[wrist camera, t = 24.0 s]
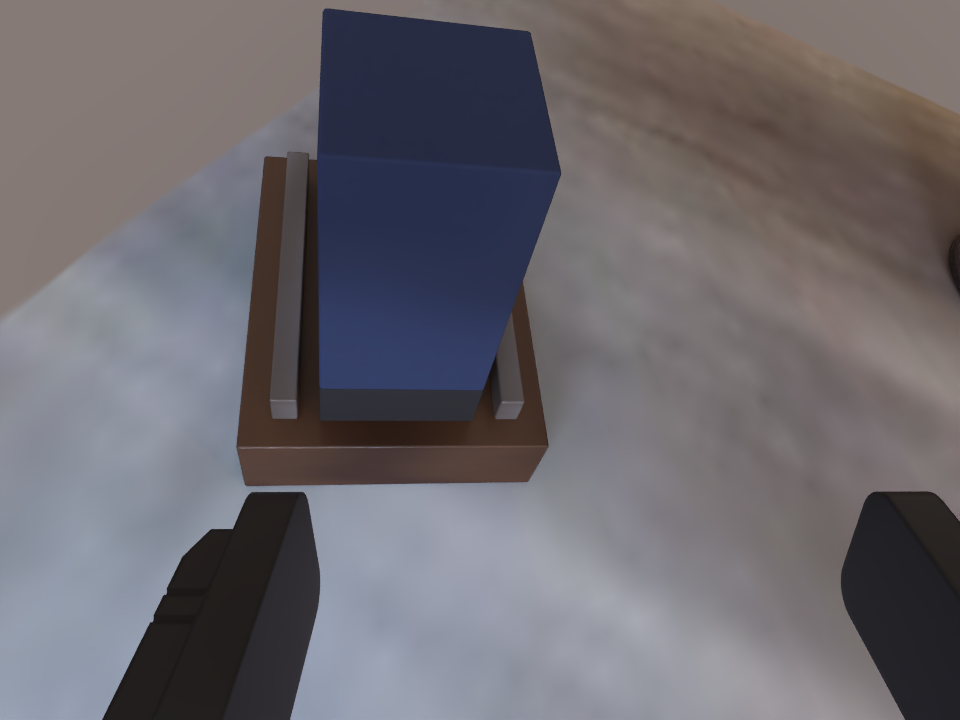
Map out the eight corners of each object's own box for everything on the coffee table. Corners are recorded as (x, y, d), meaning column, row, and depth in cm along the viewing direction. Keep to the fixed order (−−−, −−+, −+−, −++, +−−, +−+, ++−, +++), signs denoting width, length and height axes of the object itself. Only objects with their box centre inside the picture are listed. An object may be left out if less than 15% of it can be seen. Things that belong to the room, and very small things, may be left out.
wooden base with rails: (492, 221, 33) (512, 151, 30) (528, 482, 27) (559, 430, 23) (268, 208, 31) (262, 131, 28) (244, 487, 25) (231, 430, 21)
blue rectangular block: (473, 421, 24) (563, 173, 15) (319, 421, 23) (317, 155, 14) (449, 186, 30) (504, -94, 21) (326, 178, 29) (327, -121, 20)
